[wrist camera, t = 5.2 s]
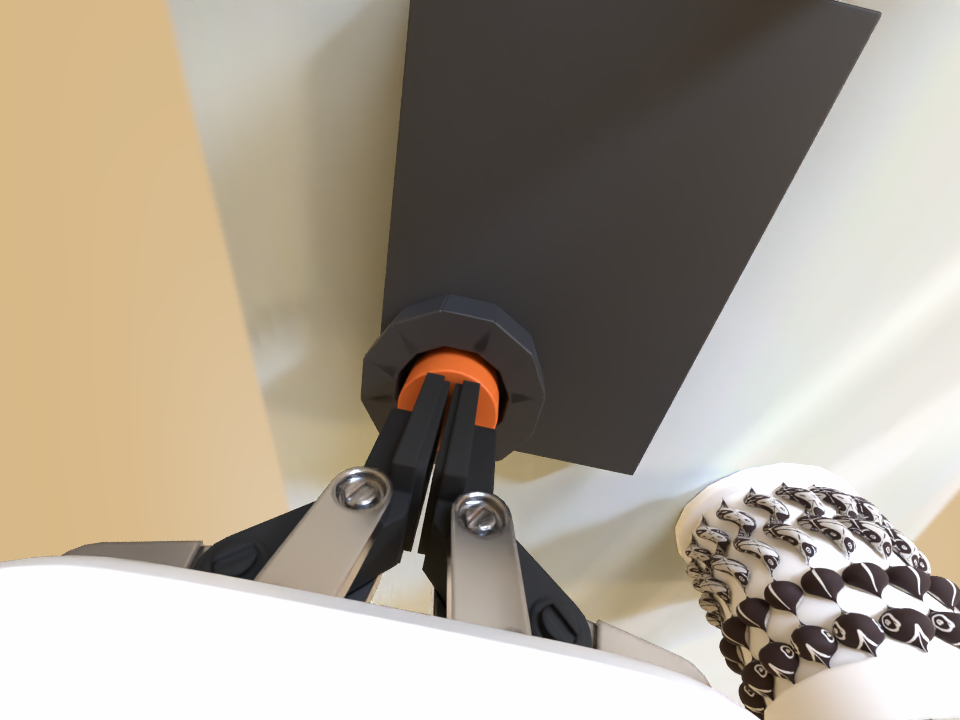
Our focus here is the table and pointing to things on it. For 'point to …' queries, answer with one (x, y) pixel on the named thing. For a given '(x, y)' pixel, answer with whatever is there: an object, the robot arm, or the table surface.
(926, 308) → the table surface
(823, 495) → the decorative candle
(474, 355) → the tare button
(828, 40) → the scale
